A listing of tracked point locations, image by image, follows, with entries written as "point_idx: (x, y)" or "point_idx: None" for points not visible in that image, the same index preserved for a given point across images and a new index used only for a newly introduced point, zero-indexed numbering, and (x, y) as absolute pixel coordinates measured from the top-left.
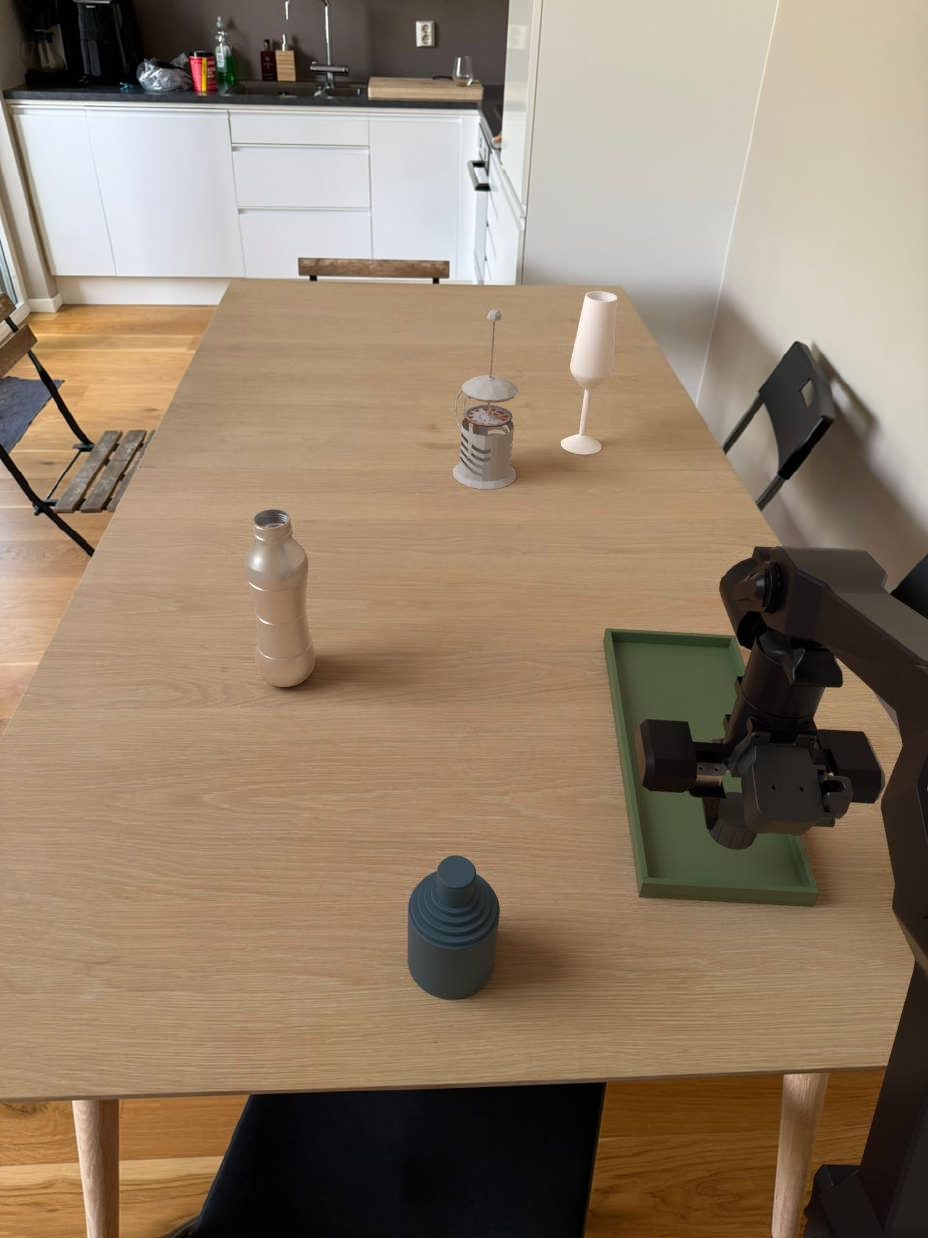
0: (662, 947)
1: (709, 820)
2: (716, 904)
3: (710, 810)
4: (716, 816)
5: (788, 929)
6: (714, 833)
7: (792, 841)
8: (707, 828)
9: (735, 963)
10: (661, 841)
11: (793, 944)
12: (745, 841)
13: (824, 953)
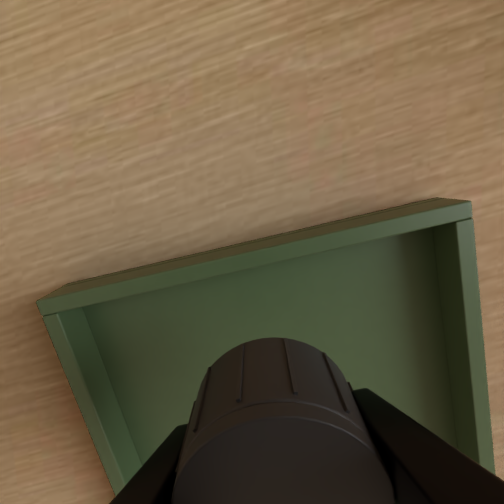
0: (382, 75)
1: (400, 424)
2: (265, 229)
3: (478, 490)
4: (392, 454)
5: (112, 212)
6: (340, 377)
7: (115, 424)
8: (369, 390)
9: (218, 85)
10: (393, 350)
11: (98, 176)
12: (232, 371)
13: (34, 174)
